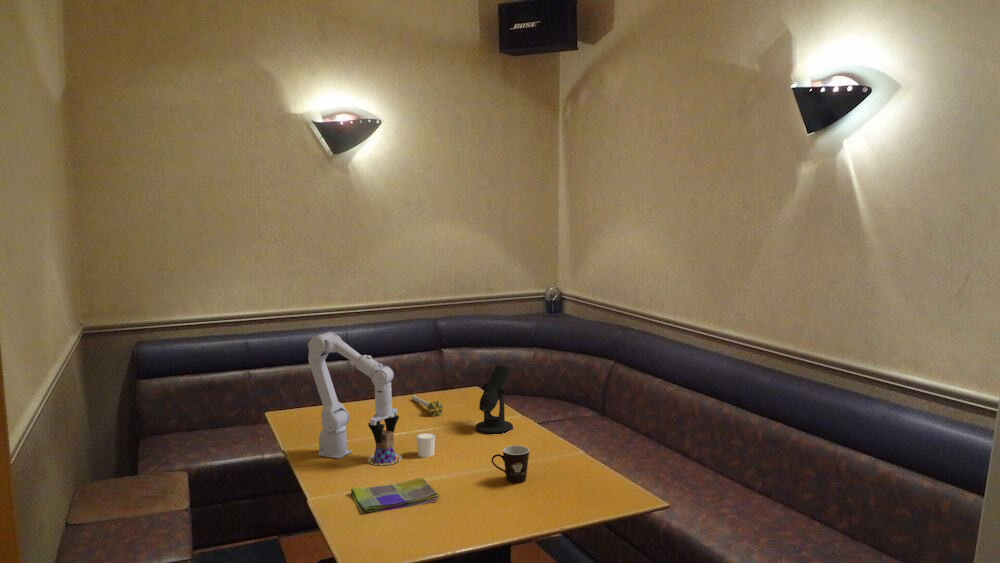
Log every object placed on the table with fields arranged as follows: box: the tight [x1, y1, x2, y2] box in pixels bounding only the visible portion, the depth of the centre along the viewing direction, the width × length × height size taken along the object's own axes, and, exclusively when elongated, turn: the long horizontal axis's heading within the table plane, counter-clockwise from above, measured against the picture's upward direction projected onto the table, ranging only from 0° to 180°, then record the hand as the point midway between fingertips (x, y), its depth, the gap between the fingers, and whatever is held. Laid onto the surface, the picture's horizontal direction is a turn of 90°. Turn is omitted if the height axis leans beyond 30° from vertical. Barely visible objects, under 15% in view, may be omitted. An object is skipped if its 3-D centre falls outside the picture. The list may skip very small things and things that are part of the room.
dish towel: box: [350, 477, 440, 515], centre depth 224 cm, size 18×24×3 cm
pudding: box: [367, 446, 403, 466], centre depth 256 cm, size 12×12×5 cm
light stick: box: [411, 394, 444, 418], centre depth 317 cm, size 7×6×30 cm
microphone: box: [475, 364, 514, 435], centre depth 288 cm, size 15×17×25 cm
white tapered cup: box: [415, 432, 436, 458], centre depth 261 cm, size 7×7×7 cm
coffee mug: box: [491, 445, 530, 484], centre depth 238 cm, size 12×9×10 cm
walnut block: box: [375, 429, 395, 449], centre depth 255 cm, size 4×4×5 cm
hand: (384, 439), depth 255 cm, fingers open, 7 cm apart
